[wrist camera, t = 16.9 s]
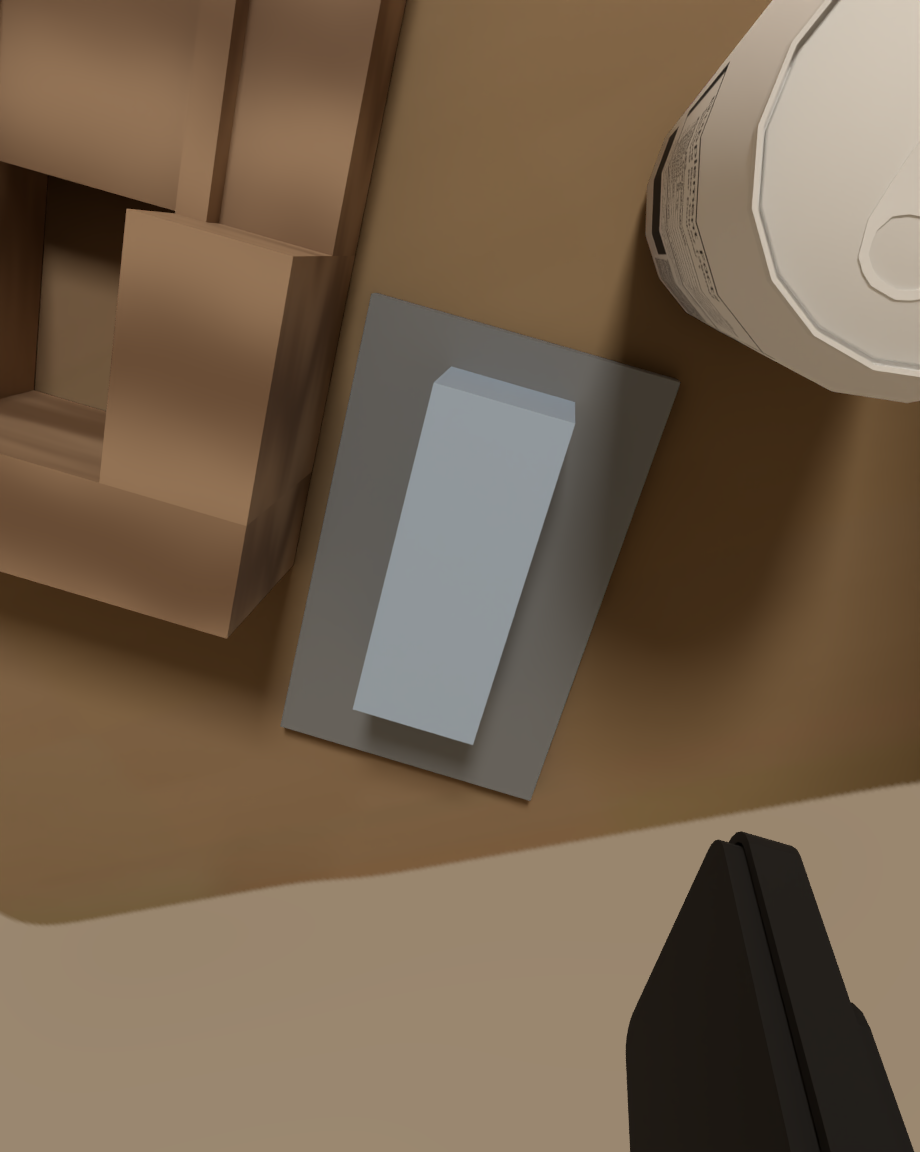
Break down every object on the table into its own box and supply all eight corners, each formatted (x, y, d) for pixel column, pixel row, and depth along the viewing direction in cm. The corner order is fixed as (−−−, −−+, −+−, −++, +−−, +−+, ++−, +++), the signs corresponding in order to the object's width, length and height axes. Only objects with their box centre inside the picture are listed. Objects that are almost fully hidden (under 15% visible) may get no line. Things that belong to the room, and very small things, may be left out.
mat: (677, 379, 29) (680, 382, 29) (530, 789, 36) (529, 800, 35) (376, 293, 30) (371, 294, 29) (286, 716, 36) (280, 726, 36)
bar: (451, 366, 29) (433, 382, 26) (575, 402, 29) (575, 423, 26) (376, 659, 34) (352, 709, 30) (483, 691, 34) (472, 745, 30)
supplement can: (736, 6, 25) (933, -290, 12) (966, 145, 26) (1419, 19, 12) (596, 260, 28) (618, 267, 15) (804, 380, 29) (1018, 497, 15)
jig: (-75, -307, 25) (-300, -502, 19) (439, -166, 25) (391, -315, 18) (-84, 453, 34) (-238, 500, 28) (293, 565, 34) (226, 638, 27)
